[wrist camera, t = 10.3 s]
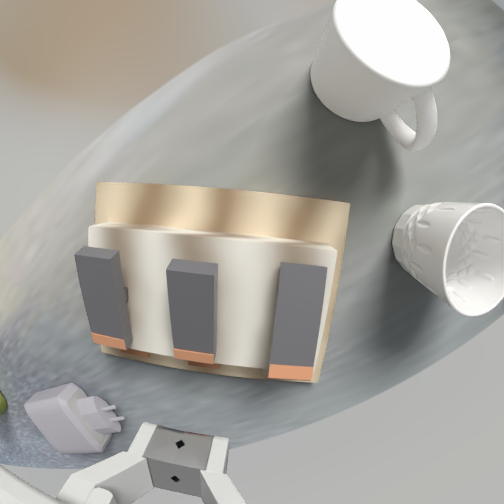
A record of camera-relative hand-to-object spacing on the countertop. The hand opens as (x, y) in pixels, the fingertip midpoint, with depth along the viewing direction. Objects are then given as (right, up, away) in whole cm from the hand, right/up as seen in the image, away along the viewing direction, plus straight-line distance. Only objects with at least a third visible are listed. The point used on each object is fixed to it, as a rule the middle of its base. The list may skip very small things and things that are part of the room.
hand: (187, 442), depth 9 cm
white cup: (+18, +8, +17) cm, 26 cm away
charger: (-19, -14, +23) cm, 33 cm away
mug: (+12, +20, +15) cm, 28 cm away
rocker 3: (+5, +2, +12) cm, 13 cm away
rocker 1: (-9, +3, +12) cm, 15 cm away
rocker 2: (-2, +2, +12) cm, 13 cm away
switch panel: (-1, +4, +18) cm, 19 cm away
